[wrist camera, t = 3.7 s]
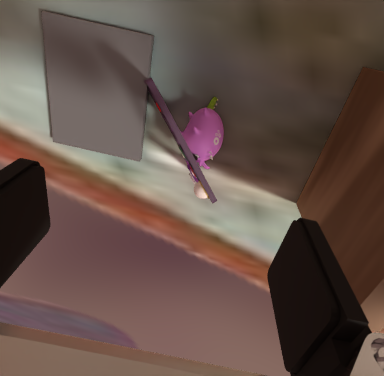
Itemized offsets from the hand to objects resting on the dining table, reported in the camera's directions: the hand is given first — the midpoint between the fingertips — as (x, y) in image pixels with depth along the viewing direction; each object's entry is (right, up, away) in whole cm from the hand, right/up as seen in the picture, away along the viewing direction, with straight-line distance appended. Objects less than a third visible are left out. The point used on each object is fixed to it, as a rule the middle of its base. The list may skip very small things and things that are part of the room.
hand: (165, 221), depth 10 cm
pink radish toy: (+1, +7, +12) cm, 14 cm away
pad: (-7, +9, +12) cm, 16 cm away
